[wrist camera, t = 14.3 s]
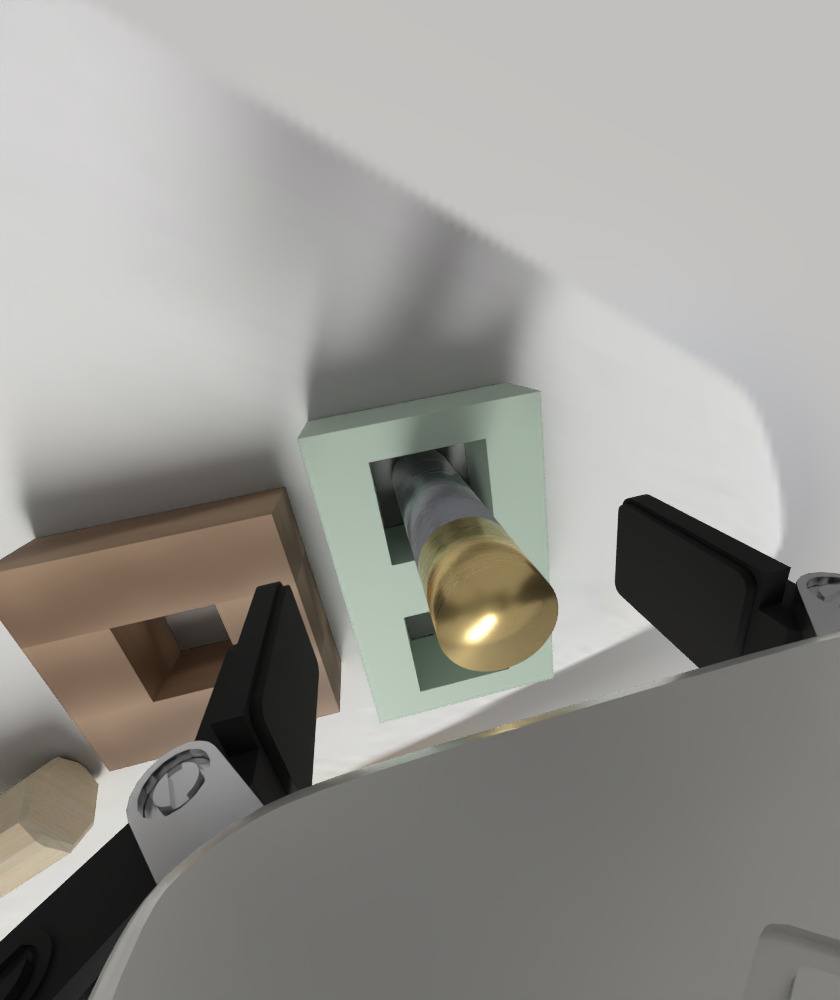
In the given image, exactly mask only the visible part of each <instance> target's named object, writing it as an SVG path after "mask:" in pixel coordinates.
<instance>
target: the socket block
mask: <svg viewBox="0 0 840 1000" xmlns="http://www.w3.org/2000/svg"><path fill="white" fill-rule="evenodd" d="M278 581H280V582H281V583H282V584H283V586H285V585H290V587H291V589H292V592H293V594H294V597H295V600H296V603H297V606H298V608H299V611H300V614H301V617H302V619H303V622H304V625H305V628H306V631H307V633H308V636H309V639H310V642H311V645H312V647H313V650H314V653H315V656H316V658H317V662H318V667H319V684H318V699H317V714H316V718H318V717H322V716H326V715H330V714H334V713H338V712H340V687H341V662H340V659H339V655H338V652H337V649H336V646H335V643H334V640H333V637H332V634H331V630H330V627H329V624H328V621H327V618H326V615H325V612H324V609H323V605H322V602H321V599H320V596H319V593H318V590H317V587H316V584H315V580H314V577H313V574H312V571H311V568H310V565H309V562H308V559H307V556H306V552H305V549H304V546H303V543H302V540H301V537H300V534H299V531H298V527H297V524H296V521H295V518H294V515H293V512H292V509H291V506H290V502H289V499H288V496H287V493H286V490H285V487H282V488H277V489H272V490H268V491H263V492H258V493H253V494H248V495H244V496H239V497H234V498H229V499H224V500H219V501H215V502H210V503H205V504H200V505H195V506H190V507H186V508H181V509H176V510H171V511H166V512H162V513H157V514H152V515H147V516H142V517H137V518H133V519H128V520H123V521H118V522H113V523H109V524H104V525H99V526H94V527H89V528H84V529H80V530H75V531H70V532H65V533H60V534H56V535H51V536H46V537H41V538H36V539H34V540H32V541H30V542H29V543H27V544H25V545H24V546H22V547H20V548H19V549H17V550H16V551H14V552H12V553H11V554H9V555H7V556H6V557H4V558H2V559H1V560H0V620H1V622H2V623H3V624H4V626H5V627H6V629H7V630H8V631H9V633H10V634H11V636H12V637H13V638H14V640H15V641H16V642H17V644H18V645H19V647H20V648H21V649H22V651H23V652H24V654H25V655H26V656H27V658H28V659H29V660H30V662H31V663H32V665H33V666H34V667H35V669H36V670H37V672H38V673H39V674H40V676H41V677H42V678H43V680H44V681H45V683H46V684H47V685H48V687H49V688H50V690H51V691H52V692H53V694H54V695H55V696H56V698H57V699H58V701H59V702H60V703H61V705H62V706H63V708H64V709H65V710H66V712H67V713H68V714H69V716H70V717H71V719H72V720H73V721H74V723H75V724H76V726H77V727H78V728H79V730H80V731H81V732H82V734H83V735H84V737H85V738H86V739H87V741H88V742H89V744H90V745H91V746H92V748H93V749H94V750H95V752H96V753H97V755H98V756H99V757H100V759H101V760H102V762H103V763H104V764H105V766H106V767H107V768H108V770H109V771H113V770H117V769H121V768H125V767H129V766H133V765H137V764H140V763H144V762H148V761H152V760H156V759H160V758H161V757H162V756H164V755H165V754H167V753H168V752H170V751H171V750H173V749H174V748H177V747H179V746H181V745H183V744H186V743H189V742H194V741H195V738H196V735H197V732H198V730H199V727H200V724H201V721H202V719H203V716H204V713H205V710H206V708H207V705H208V702H209V699H210V697H211V694H212V691H213V688H214V686H215V683H216V680H217V677H218V675H219V672H220V669H221V666H222V664H223V661H224V658H225V655H226V653H227V651H228V649H229V647H230V646H232V645H234V644H237V643H238V640H239V637H240V634H241V631H242V628H243V625H244V622H245V619H246V616H247V614H248V611H249V608H250V605H251V602H252V599H253V596H254V593H255V590H256V588H257V587H258V586H261V585H266V584H270V583H274V582H278ZM210 605H215V606H216V608H217V611H218V613H219V615H220V617H221V619H222V622H223V624H224V626H225V628H226V631H227V633H228V635H229V637H230V639H231V640H227V641H223V642H219V643H214V644H210V645H206V646H202V647H198V648H193V649H189V650H185V651H181V649H180V647H179V645H178V643H177V642H176V640H175V638H174V636H173V634H172V632H171V630H170V628H169V626H168V624H167V622H166V620H165V618H164V617H163V616H167V615H171V614H175V613H180V612H184V611H188V610H193V609H197V608H202V607H206V606H210Z"/></svg>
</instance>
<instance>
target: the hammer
mask: <svg viewBox="0 0 840 1000" xmlns="http://www.w3.org/2000/svg"><path fill="white" fill-rule="evenodd" d="M97 792H98V783H97V782H96V781H95V779H94V778H93V777H92V775H91V774H90V773H89V771H88V770H87V769H86V768H85V767H84V766H83V765H82V764H80V763H78V762H75V761H71V760H67V759H63V758H59V757H56V758H54V759H52V760H51V761H49V762H48V763H47V764H45V765H44V766H42V767H41V768H39V769H38V770H36V771H35V772H33V773H32V774H30V775H29V776H27V777H26V778H24V779H23V780H21V781H20V782H19V783H17V784H16V785H14V786H13V787H11V788H10V789H8V790H7V791H5V792H4V793H2V794H1V795H0V898H1V897H3V896H4V895H6V894H7V893H9V892H11V891H12V890H14V889H15V888H17V887H18V886H20V885H21V884H23V883H24V882H26V881H28V880H29V879H31V878H32V877H34V876H35V875H37V874H38V873H40V872H41V871H43V870H45V869H46V868H48V867H49V866H51V865H52V864H54V863H55V862H57V861H58V860H60V859H62V858H63V857H65V856H66V855H68V854H69V853H71V852H72V850H73V849H74V848H75V847H76V845H77V844H78V843H79V842H80V840H81V839H82V838H83V837H84V836H85V834H86V833H87V832H88V831H89V829H90V828H91V827H92V826H93V823H94V816H95V808H96V800H97Z"/></svg>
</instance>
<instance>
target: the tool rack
mask: <svg viewBox="0 0 840 1000" xmlns="http://www.w3.org/2000/svg"><path fill="white" fill-rule="evenodd" d="M297 440H298V444H299V447H300V451H301V454H302V457H303V461H304V464H305V468H306V471H307V475H308V478H309V481H310V485H311V488H312V492H313V495H314V499H315V502H316V505H317V509H318V512H319V516H320V519H321V523H322V526H323V529H324V533H325V536H326V540H327V543H328V546H329V550H330V553H331V557H332V560H333V564H334V567H335V570H336V574H337V577H338V581H339V584H340V588H341V591H342V594H343V598H344V601H345V605H346V608H347V611H348V615H349V618H350V622H351V625H352V629H353V632H354V635H355V639H356V642H357V646H358V649H359V653H360V656H361V659H362V663H363V666H364V670H365V673H366V676H367V680H368V683H369V687H370V690H371V694H372V697H373V700H374V704H375V707H376V711H377V714H378V718H379V721H380V723H383V722H387V721H391V720H395V719H398V718H402V717H406V716H410V715H414V714H417V713H421V712H425V711H429V710H433V709H436V708H440V707H444V706H448V705H452V704H455V703H459V702H463V701H467V700H471V699H474V698H478V697H482V696H486V695H490V694H493V693H497V692H501V691H505V690H509V689H512V688H516V687H520V686H524V685H528V684H531V683H535V682H539V681H543V680H547V679H550V678H553V677H554V676H553V654H552V634H551V635H550V637H549V638H548V640H547V641H546V642H545V644H544V645H543V646H542V647H541V648H540V649H539V650H538V651H537V652H536V653H534V654H533V655H532V656H531V657H529V658H528V659H526V660H525V661H523V662H521V663H519V664H517V665H514V666H512V667H509V668H506V669H502V670H497V671H489V672H486V671H474V670H469V669H466V668H463V667H461V666H459V665H457V664H455V663H454V662H453V661H451V660H450V659H449V658H448V657H447V656H446V655H445V653H444V652H443V651H442V649H441V647H440V645H439V642H438V638H437V635H436V634H435V635H431V636H427V637H423V638H419V639H415V640H410V637H409V633H408V628H407V624H406V619H405V617H409V616H413V615H417V614H421V613H426V612H430V611H429V608H428V604H427V601H426V597H425V594H424V590H423V587H422V584H421V580H420V577H419V573H418V570H417V566H416V563H415V560H414V556H413V553H412V549H411V546H410V542H409V539H408V536H407V532H406V529H405V525H404V524H403V525H399V526H394V527H390V528H385V525H384V521H383V517H382V512H381V508H380V503H379V499H378V494H377V490H376V485H375V481H374V476H373V472H372V467H371V463H370V462H374V461H379V460H384V459H389V458H394V457H398V456H403V455H408V454H413V453H418V452H423V451H428V450H432V449H437V448H442V447H447V446H452V445H457V444H462V443H464V445H465V453H466V461H467V469H468V477H469V485H470V488H471V490H472V491H473V492H474V493H475V494H476V496H477V497H478V498H479V499H480V501H481V502H482V503H483V504H484V505H485V507H486V508H487V509H488V510H489V511H490V513H491V514H492V515H493V516H494V517H495V519H496V520H497V521H498V522H499V523H500V525H501V526H502V527H503V528H504V530H505V531H506V532H507V533H508V534H509V536H510V537H511V538H512V539H513V540H514V542H515V543H516V544H517V545H518V546H519V548H520V549H521V550H522V551H523V552H524V554H525V555H526V556H527V557H528V559H529V560H530V561H531V562H532V563H533V565H534V566H535V567H536V568H537V569H538V571H539V572H540V573H541V574H542V575H543V577H544V578H545V579H546V580H547V582H548V583H549V565H548V543H547V521H546V499H545V477H544V455H543V433H542V411H541V391H538V390H534V389H530V388H526V387H522V386H518V385H514V384H509V383H501V384H496V385H491V386H486V387H481V388H475V389H470V390H465V391H460V392H455V393H450V394H445V395H439V396H434V397H429V398H424V399H419V400H414V401H409V402H403V403H398V404H393V405H388V406H383V407H378V408H373V409H367V410H362V411H357V412H352V413H347V414H342V415H337V416H331V417H326V418H321V419H316V420H311V421H308V422H307V423H306V425H305V427H304V428H303V430H302V432H301V434H300V435H299V437H298V439H297Z"/></svg>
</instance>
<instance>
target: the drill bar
mask: <svg viewBox="0 0 840 1000" xmlns="http://www.w3.org/2000/svg"><path fill="white" fill-rule="evenodd" d="M392 484H393V488H394V491H395V494H396V498H397V501H398V505H399V508H400V512H401V515H402V518H403V522H404V525H405V529H406V532H407V536H408V539H409V542H410V546H411V549H412V553H413V556H414V560H415V563H416V566H417V570H418V573H419V577H420V580H421V584H422V587H423V590H424V594H425V597H426V601H427V604H428V608H429V611H430V614H431V618H432V621H433V625H434V628H435V632H436V635H437V638H438V642H439V645H440V647H441V649H442V651H443V652H444V653H445V655H446V656H447V657H448V658H449V659H450V660H451V661H453V662H454V663H455V664H457V665H459V666H461V667H463V668H466V669H469V670H474V671H486V672H489V671H497V670H502V669H506V668H509V667H512V666H514V665H517V664H519V663H521V662H523V661H525V660H526V659H528V658H529V657H531V656H532V655H533V654H534V653H536V652H537V651H538V650H539V649H540V648H541V647H542V646H543V645H544V644H545V642H546V641H547V640H548V638H549V637H550V635H551V634H552V631H553V629H554V627H555V624H556V621H557V616H558V601H557V597H556V594H555V592H554V590H553V588H552V587H551V585H550V584H549V583H548V582H547V580H546V579H545V578H544V577H543V575H542V574H541V573H540V572H539V571H538V569H537V568H536V567H535V566H534V565H533V563H532V562H531V561H530V560H529V559H528V557H527V556H526V555H525V554H524V552H523V551H522V550H521V549H520V548H519V546H518V545H517V544H516V543H515V542H514V540H513V539H512V538H511V537H510V536H509V534H508V533H507V532H506V531H505V530H504V528H503V527H502V526H501V525H500V523H499V522H498V521H497V520H496V519H495V517H494V516H493V515H492V514H491V513H490V511H489V510H488V509H487V508H486V507H485V505H484V504H483V503H482V502H481V501H480V499H479V498H478V497H477V496H476V494H475V493H474V492H473V491H472V490H471V488H470V487H469V486H468V485H467V484H466V482H465V481H464V480H463V479H462V478H461V476H460V475H459V474H458V473H457V471H456V470H455V469H454V468H453V467H452V465H451V464H450V463H449V462H448V461H447V459H446V458H445V457H444V456H443V455H442V454H441V453H439V452H438V451H436V450H434V449H432V450H428V451H423V452H418V453H413V454H408V455H403V456H401V457H400V458H399V459H398V460H397V462H396V463H395V465H394V468H393V471H392Z"/></svg>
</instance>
